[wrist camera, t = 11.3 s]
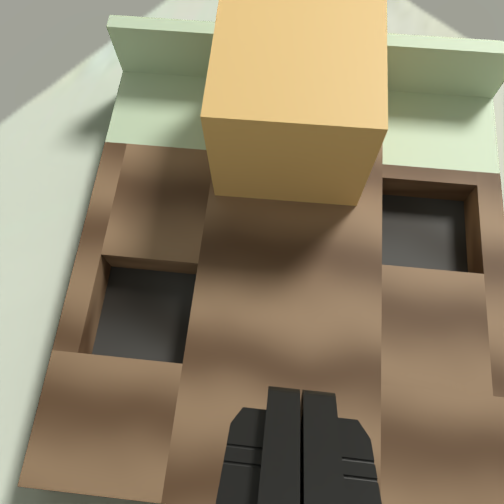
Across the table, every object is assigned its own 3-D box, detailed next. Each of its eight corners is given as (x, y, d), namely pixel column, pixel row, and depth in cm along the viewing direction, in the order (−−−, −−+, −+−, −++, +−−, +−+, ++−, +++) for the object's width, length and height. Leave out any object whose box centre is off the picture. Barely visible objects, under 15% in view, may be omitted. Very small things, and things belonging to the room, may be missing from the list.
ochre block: (356, 206, 30) (388, 129, 23) (214, 195, 31) (200, 116, 23) (358, 90, 33) (386, -10, 26) (230, 82, 34) (221, -19, 26)
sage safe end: (483, 192, 33) (533, 137, 27) (115, 161, 35) (84, 102, 28) (476, 109, 36) (520, 42, 30) (134, 84, 37) (109, 14, 31)
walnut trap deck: (510, 538, 26) (535, 548, 23) (38, 482, 27) (17, 486, 25) (477, 120, 35) (492, 98, 33) (131, 94, 37) (123, 71, 34)
